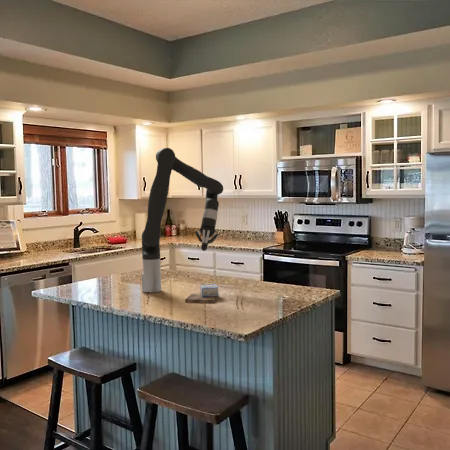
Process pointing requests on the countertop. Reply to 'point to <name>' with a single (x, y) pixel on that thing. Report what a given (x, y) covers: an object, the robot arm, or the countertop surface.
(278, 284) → the countertop surface
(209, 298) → the board
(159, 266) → the robot arm
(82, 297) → the countertop surface
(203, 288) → the medicine box
